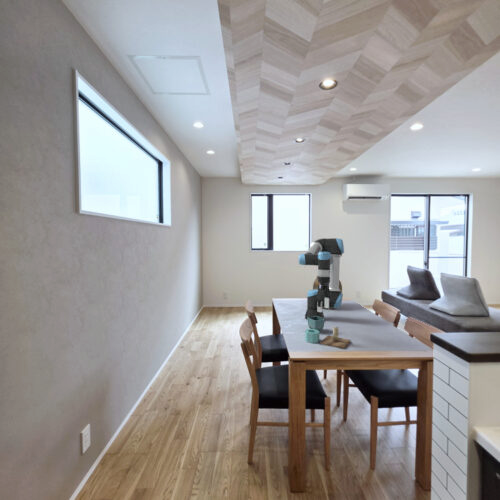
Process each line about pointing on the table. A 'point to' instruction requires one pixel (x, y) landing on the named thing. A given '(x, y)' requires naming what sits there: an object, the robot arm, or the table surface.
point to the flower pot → (316, 323)
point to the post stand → (335, 340)
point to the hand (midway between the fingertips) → (323, 309)
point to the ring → (312, 336)
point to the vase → (316, 283)
